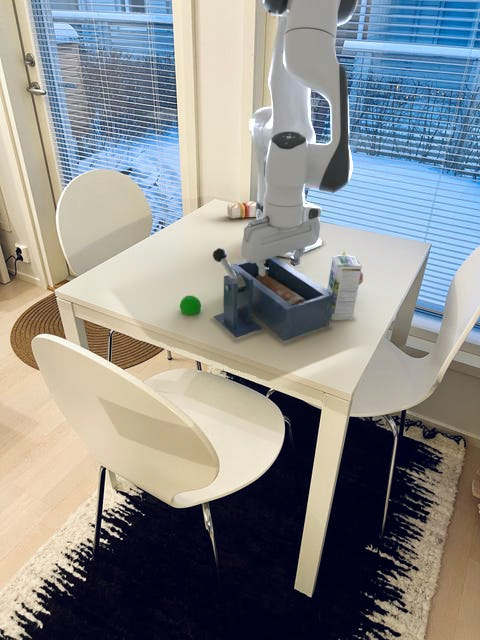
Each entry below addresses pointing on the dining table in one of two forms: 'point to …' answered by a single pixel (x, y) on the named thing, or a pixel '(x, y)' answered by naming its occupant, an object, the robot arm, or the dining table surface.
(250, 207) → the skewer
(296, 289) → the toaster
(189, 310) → the polyhedron
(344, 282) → the syrup box
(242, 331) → the lever bracket
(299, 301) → the bread
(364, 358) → the dining table surface
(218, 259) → the toaster lever
